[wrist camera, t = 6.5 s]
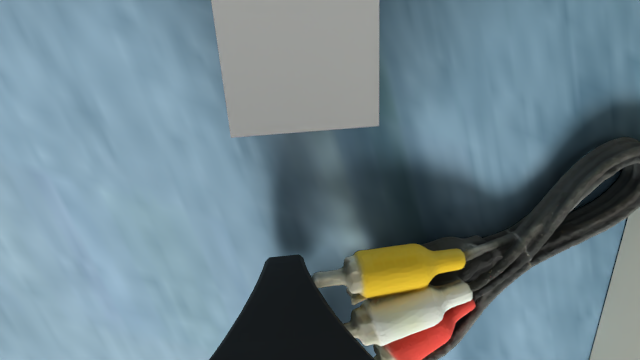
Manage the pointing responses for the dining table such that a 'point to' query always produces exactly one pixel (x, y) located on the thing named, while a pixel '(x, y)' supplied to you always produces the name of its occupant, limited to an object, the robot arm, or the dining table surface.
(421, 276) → the composite cable
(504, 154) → the dining table surface
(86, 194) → the dining table surface
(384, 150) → the dining table surface
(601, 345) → the end holder
